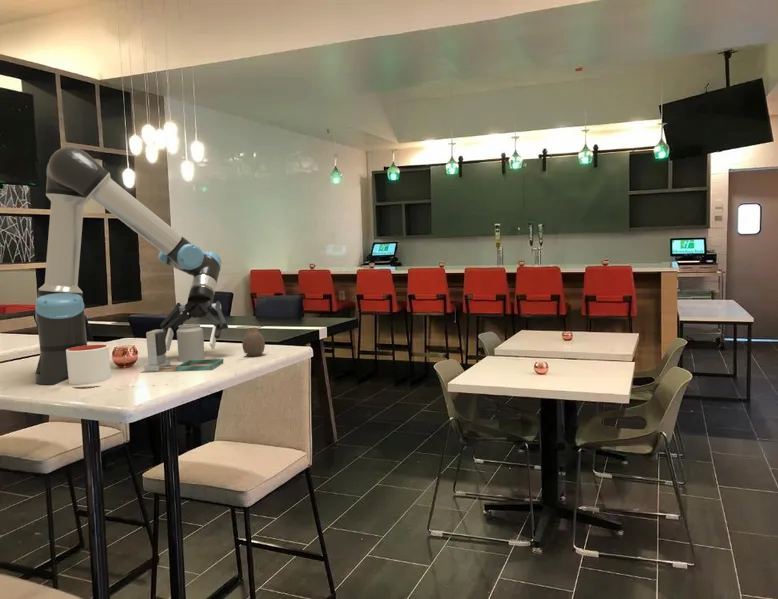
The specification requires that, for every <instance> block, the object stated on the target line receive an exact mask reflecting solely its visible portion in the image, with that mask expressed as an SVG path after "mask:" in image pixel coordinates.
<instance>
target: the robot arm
mask: <svg viewBox="0 0 778 599" xmlns="http://www.w3.org/2000/svg"><path fill="white" fill-rule="evenodd" d="M45 173H46V183H45V184H46V185H45V186H46V188H45V196H46V197H47V198H48V200H49V201H50V210H49V211H50V212H49V225H48V236H47V237H48V240H47V250H46V265H45V276H44V284H43V285H41V286H40V287H39V288H38V289H37V298H36V300H35V306H34V309H35V312H34V316H35V322H36V324H37V333H38V334H37V335H38V342H39V358H38V362H37V367H36V370H35V374H34V378H35V379H34V380H35V383H36V384H40V385H56V384H60V383H62V382H65V381H67V380H68V381H69V379H68V368H67V357H66V350H67V349H69V348H73V347H79V346H87V345H88V340H87V330H86V329H87V327H86V316H85V303H84V298H83V291H82V289H81V288H80V287H79V270H80V260H81V258H80V257H81V245H82V232H83V221H84V208H85V205H86V204H88V203H89V202H90V201H91V200H93V201H95V202H96V203H97V204H99V205H100V206H101V207H103V208H104V209H106V210H107V211H108V212H109V213H111V215H112V216H114V217H116V218H117V219H118V220H120V221H121V223H124V224H125V225H126V226H127V227H128V228H130V229H131V230H132V231H133V232H135V233H137V234H138V235H139V236H140V237H142V238H143V239H144V240H145V241H147V242H148V243H149V244H151V245H152V246H153V247H154V248H156V249H157V250H158V251H159V253H158V256H157V258H158V261H159V262H161V263H163V264H165V265H166V266H168V267H171V268H174V269H175V270H177V271H178V270H179V271H181V272H183V273H186V274H188V275H190V276H192V277H193V278H192V282H191V285H190V290H189V294H188V297H187V302H186V304H181V302H177V303H176V304H175V307H174V308H173V310H172V311H171V312H170V313H169V314H168V315H167V316H166V318H165V319H164V320H163V321H161V323H160V324H159V325H160V326H159V327H160V328H161V329H163V330H164V332H165V340H166V352H170V350H171V346H172V341H173V338H174V334H175V333H174V331H175V330H176V329H177V328H179V327H178V326H180V325H183V324H184V323H185V322H186V321H189V320H190V319H191V318H192V319H193V318H194V319H195V318H203V317H205V318H206V319H208V320H209V322H210V323H211V324H212V325H213V326H212V329H211V335H210V339H209V343H208V344H209V346H210V348H211V350H215V347H216V343H217V340H218V339H220V337H221V333H222V332H221V331H222V330H223V329H225V330H227V329H228V328H229V325H228V323H227V320H226V319H225V316H224V314H223V311H222V310H223V309H222V308H223V307H222V304H221V302H220V300H217V301H215V303H214V298H215V292H216V289H217V284H218V283H217V282H218V279H219V276H220V272H221V266H222V259H221V257H220V255H219V254H218V253H216V252H215V251H212V250H211V251H208V250H205V251H203V250H202V248H200V246H198V245H197V244H194V243H192V242H190V241H189V240H188V239H187V238H185V237H183V235H182V234H180V233H179V232H178V231H176V230H175V229H174V228H173V227H172V226H170V225H169V224H167V222H165V221H164V220H163V219H161V217H159V216H158V215H156V214H155V213H154V212H153V211H152V210H151V209H149V208H148V207H147V206H146V205H144V204H143V203H142V202H141V201H139V200H138V199H137V198H135V197H134V196H133V195H132V194H131V193H129V192H128V191H127V190H126V189H124V188H123V187H122V186H121V185H120V184H118V183H117V182H116V181H114V179H113V178H112V177H111V173H110V171H108V170H107V169H105V168H104V167H103V166H102V165H101V164H100V163H98V161H96V160H95V159H94V158H93V157H92V156H91V155H90V154H89V153H88V152H87V151H84V150H83V149H80V148H78V147H75V146H74V147H73V146H65V147H61V148H59V149H57V150H55V151H54V153H53V154H52V155H51V156H50V158H49V161H48V163H47V166H46V172H45ZM213 309H214V310H215V311H216V312H217V314H218V317H219V319H220V321H221V322H219V321H218V320H217V319H216V318H215V316H214V315H213V314H212V313H211V311H212V310H213Z"/></svg>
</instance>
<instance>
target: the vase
mask: <svg viewBox="0 0 778 599" xmlns="http://www.w3.org/2000/svg"><path fill="white" fill-rule="evenodd" d="M241 342H242V344H241V345H242V350H243V352H244V354H245V355H246V356H247V357H249V356H250V357H253V358H255V357H258V356H259V357H260V356H261V355H262V354H263V353H264V351H265V349H266V348H265V347H266V342H265V339H264V336H263V335H262V333H261V332H260V331H259V330H258V328H257V327H248V329H247V332H246V333H245V335H244V336H243V338H242V341H241Z"/></svg>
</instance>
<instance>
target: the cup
mask: <svg viewBox="0 0 778 599" xmlns="http://www.w3.org/2000/svg"><path fill="white" fill-rule="evenodd" d="M66 357H67V368H68V384H71V385H86V386H72V387H71V388H73V389H76V390H84V389H85V390H86V389H87V390H88V389H95V387H96V388H100V387H101V385H93V386H92V385H91V386H87V385H88V384H95V383H101V382H105V381H107V380H111V379H112V372H111V371H112V370H111V359H110V347H109V345H108V344H90V345H89V344H87V346H79V347H73V348H69V349H67V350H66Z"/></svg>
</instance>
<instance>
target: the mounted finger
mask: <svg viewBox="0 0 778 599" xmlns="http://www.w3.org/2000/svg"><path fill="white" fill-rule="evenodd" d="M145 334H146V335H145V336H146V346H147V347H146V348H147V358H148V359H147V361H148V364H146V365H144V370H145V372H150V373H154V372H153V371H161V370H163V369H164V368H165V367H169V366H170V365H171V360H170V359H167V358H166V353H167V350H166V340H165V331H164V330H163V329H162V328H161V329H152V330H150V331H147V332H146V333H145Z"/></svg>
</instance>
